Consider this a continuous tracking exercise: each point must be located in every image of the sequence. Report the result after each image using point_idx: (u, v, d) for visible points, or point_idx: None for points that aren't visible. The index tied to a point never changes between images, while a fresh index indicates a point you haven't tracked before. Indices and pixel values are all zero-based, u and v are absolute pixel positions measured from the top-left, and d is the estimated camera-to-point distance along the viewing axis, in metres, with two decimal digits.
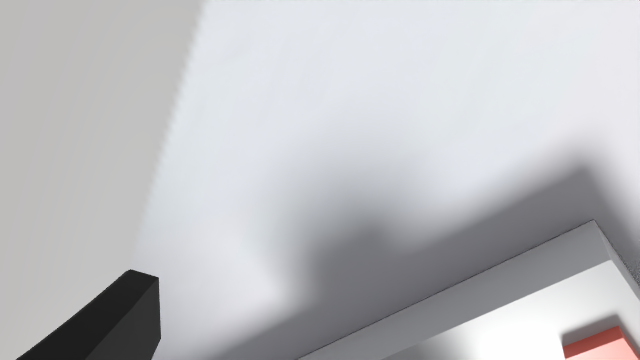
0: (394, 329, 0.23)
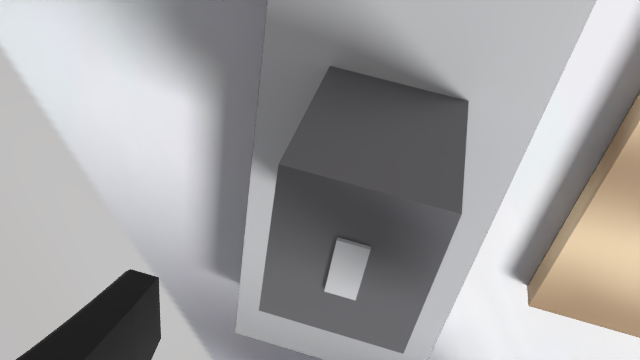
0: None
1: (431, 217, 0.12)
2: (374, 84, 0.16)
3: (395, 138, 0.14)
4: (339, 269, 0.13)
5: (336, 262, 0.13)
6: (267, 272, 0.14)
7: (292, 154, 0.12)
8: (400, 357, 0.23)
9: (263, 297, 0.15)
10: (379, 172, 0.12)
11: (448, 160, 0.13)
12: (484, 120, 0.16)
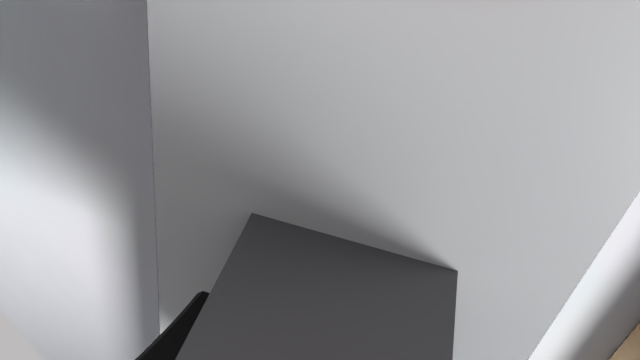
0: None
1: None
2: (315, 247, 0.10)
3: None
4: None
5: None
6: None
7: None
8: None
9: None
10: None
11: None
12: (481, 296, 0.11)
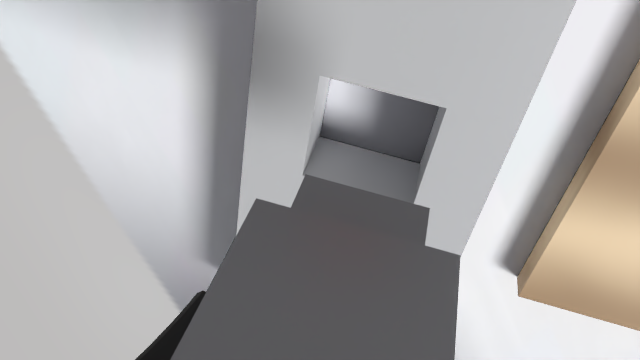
0: None
1: None
2: (319, 231, 0.10)
3: (340, 352, 0.08)
4: None
5: None
6: None
7: None
8: None
9: None
10: None
11: None
12: (472, 110, 0.16)
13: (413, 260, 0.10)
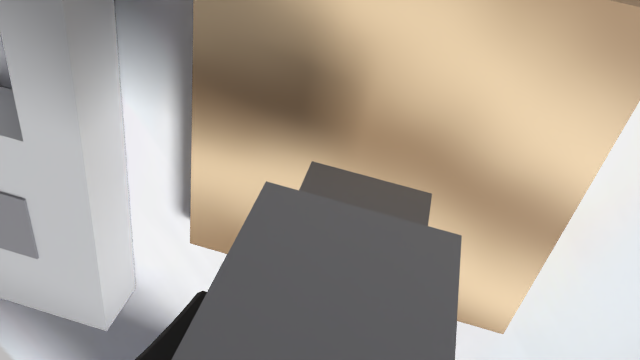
0: None
1: None
2: (327, 212, 0.11)
3: (348, 322, 0.09)
4: None
5: None
6: None
7: None
8: (79, 298, 0.23)
9: None
10: None
11: None
12: (22, 33, 0.16)
13: (417, 239, 0.11)
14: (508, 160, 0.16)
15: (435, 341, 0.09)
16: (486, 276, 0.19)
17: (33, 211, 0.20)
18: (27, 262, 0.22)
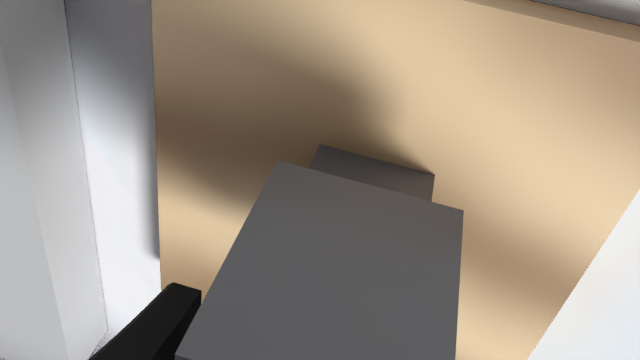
0: None
1: None
2: (335, 189, 0.11)
3: (357, 287, 0.10)
4: None
5: None
6: None
7: (199, 332, 0.08)
8: (42, 347, 0.21)
9: None
10: None
11: (433, 326, 0.09)
12: None
13: (421, 213, 0.11)
14: (512, 212, 0.14)
15: (439, 304, 0.10)
16: (486, 333, 0.17)
17: None
18: None
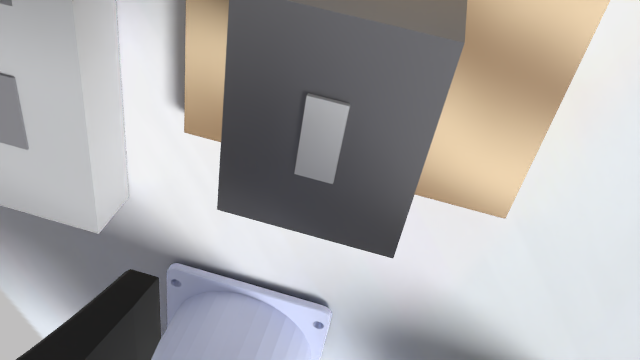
0: None
1: (425, 51, 0.09)
2: None
3: None
4: (311, 140, 0.11)
5: (308, 130, 0.11)
6: (224, 153, 0.12)
7: None
8: (70, 196, 0.22)
9: (221, 190, 0.12)
10: (358, 3, 0.10)
11: (446, 0, 0.11)
12: None
13: None
14: (511, 6, 0.16)
15: None
16: (488, 150, 0.18)
17: (23, 91, 0.20)
18: (17, 155, 0.22)
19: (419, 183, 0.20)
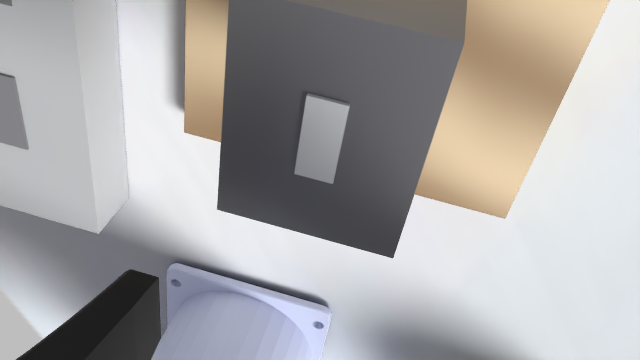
0: None
1: (425, 51, 0.09)
2: None
3: None
4: (311, 139, 0.11)
5: (308, 130, 0.11)
6: (224, 153, 0.12)
7: None
8: (70, 196, 0.22)
9: (221, 190, 0.12)
10: (358, 3, 0.10)
11: (446, 1, 0.11)
12: None
13: None
14: (511, 7, 0.16)
15: None
16: (488, 150, 0.18)
17: (23, 91, 0.20)
18: (17, 155, 0.22)
19: (419, 183, 0.20)
